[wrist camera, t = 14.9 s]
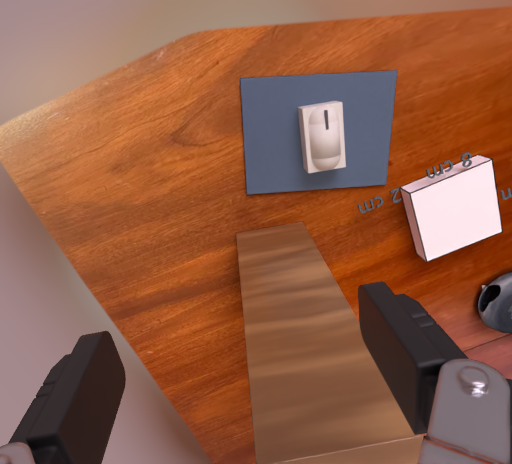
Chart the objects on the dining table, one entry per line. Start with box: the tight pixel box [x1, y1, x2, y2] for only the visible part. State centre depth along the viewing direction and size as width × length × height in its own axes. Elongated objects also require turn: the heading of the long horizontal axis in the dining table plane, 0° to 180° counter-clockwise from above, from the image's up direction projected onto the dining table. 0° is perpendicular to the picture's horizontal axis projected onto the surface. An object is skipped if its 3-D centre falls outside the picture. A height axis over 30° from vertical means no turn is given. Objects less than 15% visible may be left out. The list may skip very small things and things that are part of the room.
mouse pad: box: [240, 70, 397, 195], centre depth 39 cm, size 16×12×1 cm
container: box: [358, 152, 512, 262], centre depth 42 cm, size 20×11×3 cm, turn 113°
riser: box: [236, 222, 423, 464], centre depth 32 cm, size 12×8×28 cm, turn 9°
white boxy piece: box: [298, 101, 346, 173], centre depth 37 cm, size 7×4×4 cm, turn 9°
